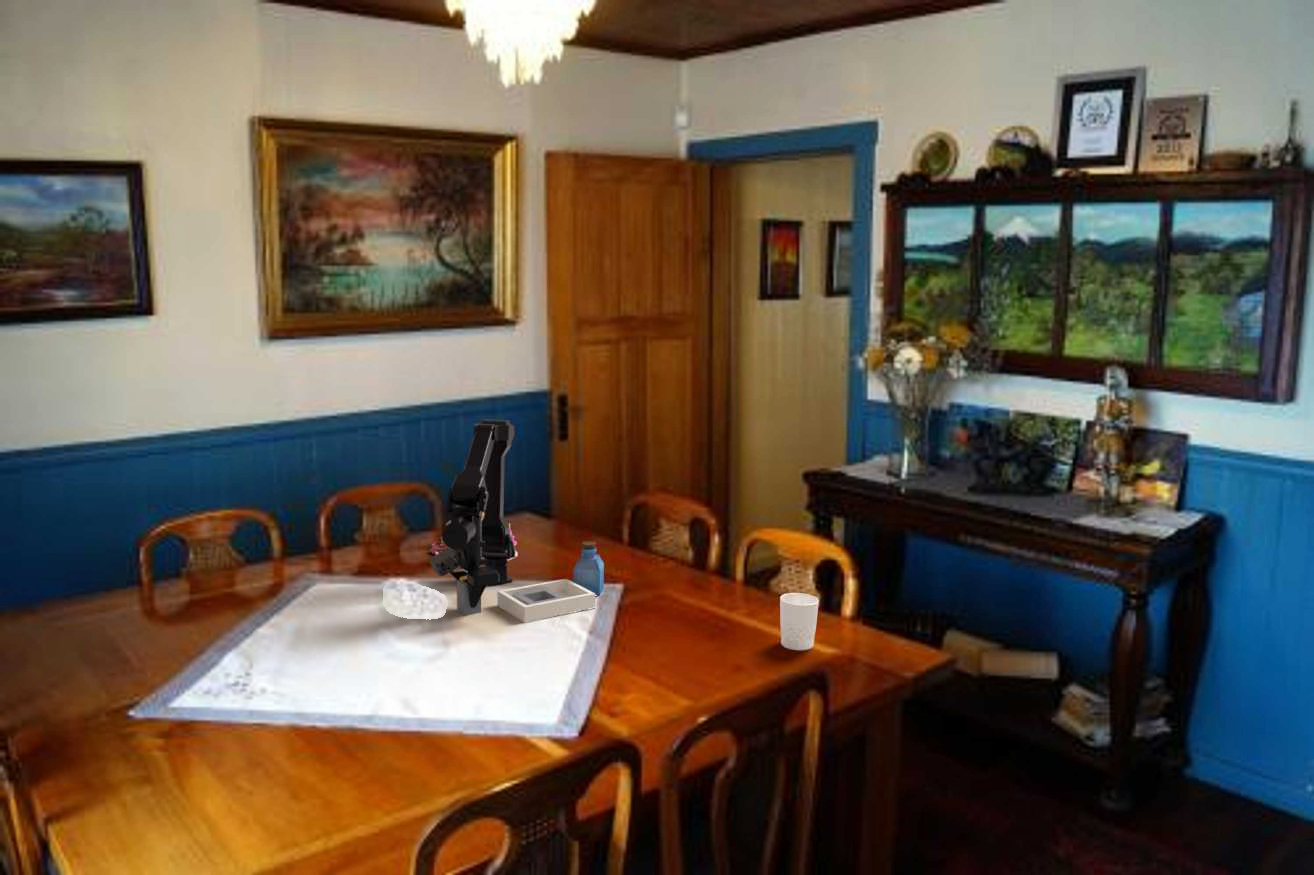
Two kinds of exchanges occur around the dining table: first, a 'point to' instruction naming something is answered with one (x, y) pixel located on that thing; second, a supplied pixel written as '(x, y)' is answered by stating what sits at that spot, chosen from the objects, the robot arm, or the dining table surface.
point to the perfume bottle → (590, 569)
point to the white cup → (798, 620)
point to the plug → (465, 599)
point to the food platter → (441, 547)
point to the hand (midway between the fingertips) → (469, 604)
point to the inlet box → (545, 600)
